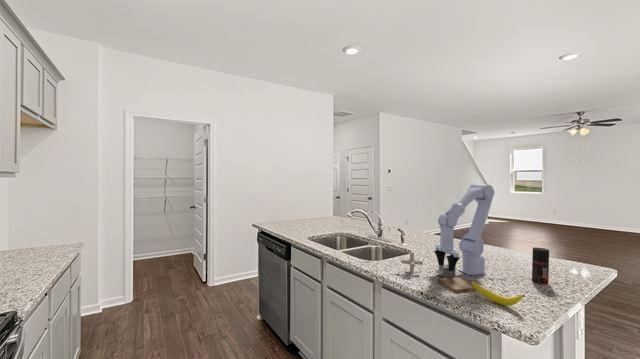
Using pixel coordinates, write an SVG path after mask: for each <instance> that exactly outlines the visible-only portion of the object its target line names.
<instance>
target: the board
mask: <svg viewBox="0 0 640 359" xmlns="http://www.w3.org/2000/svg"><path fill="white" fill-rule="evenodd" d="M436 282H437V283H438V284H440V285H442V286H443V287H445V288H447V289H448V290H450V291H452V292H454V293H464V292H478V291H477V290H476V289H475V287H474V286H473V285H472V283H471V282H472V281H469V280H467V279H465V278H462V277H446V278H444V277H443V278H437V279H436Z"/></svg>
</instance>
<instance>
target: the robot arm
mask: <svg viewBox="0 0 640 359" xmlns="http://www.w3.org/2000/svg"><path fill="white" fill-rule="evenodd" d="M495 192H496V191H495V189H494V187H493V186H492V185H491V184H476V183H472V184H470V186H469V187H468V188H467V192H466V193H465V194H464V196H463V197H462V198H461V199H460V201H459V202H458V203H453V204H452V205H451V207H450V208H449V209H448V210H447V211H446V212H445V213H442V214H440V216H439V217H438V219H437V223H438V225H439V229H440V232H439V233H440V239H439V241H440V244H436V245H435V250H434V252H433V253H434V254H435V256H436V259H437V263H438V266H439V265H445V258H446V259H447V263H448V264H447V265H448V266H449V271H454V269H455V266H456V265H457V263H458V261H459V260H460V259H461V257H460V253H459V252H458V251H456V250H455V249H454V241H455V240H454V237H455V236H454V232H455V230H454V229H455V227H456V226H457V224H458V221H459V218H460V217H461V216H462V215H463V214H464V213H465V212H466V209H465V208H466V207H467V206H469V204H471V203H472V202H473V201H475V202H476V203H477V206H476V209H475V212H474V215H473V219H472V221H471V225H470V228H469V231H468V233H466V234H464V235H463V236H462V238H461V240H460V241H459V244H458V247H459V250H460V251H461V254H462V265H461V266H462V268H457V270H458V271H460V272H462V273H464V274H465V275H468V276H479V275H486V274H487V273H486V272H485V269H486V268H485V267H486V262H485V257H484V256H483V253H484V245H485V242H484V240H483V239H482V234H483V231H484V228H485V224H486V222H487V218H488V215H489V213H490V209H491V206H492V202H493V198H494V195H495ZM446 254H447V255H446Z"/></svg>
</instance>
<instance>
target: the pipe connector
mask: <svg viewBox="0 0 640 359" xmlns="http://www.w3.org/2000/svg"><path fill="white" fill-rule="evenodd" d="M400 263H401V264H407V265H409V273H410V274H414V273H415V271H414V270H415V269H414V268H416V265H418V266H423V265H424V261H423V260H415V251H410V252H409V258H408V259H401V260H400Z"/></svg>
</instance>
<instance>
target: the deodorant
mask: <svg viewBox="0 0 640 359" xmlns="http://www.w3.org/2000/svg"><path fill="white" fill-rule="evenodd" d="M531 259H532V262H531V263H532V264H531V265H532V266H531V267H532V268H531V281H533V282H532V283H535V284H538V285H542V284H543V285H544V286H546V285H547V284H548V285H549V281H550V280H549V278H550V276H549V272H550V268H549V267H550V249H548V248H545V247H536V246H535V247H532V258H531Z"/></svg>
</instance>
